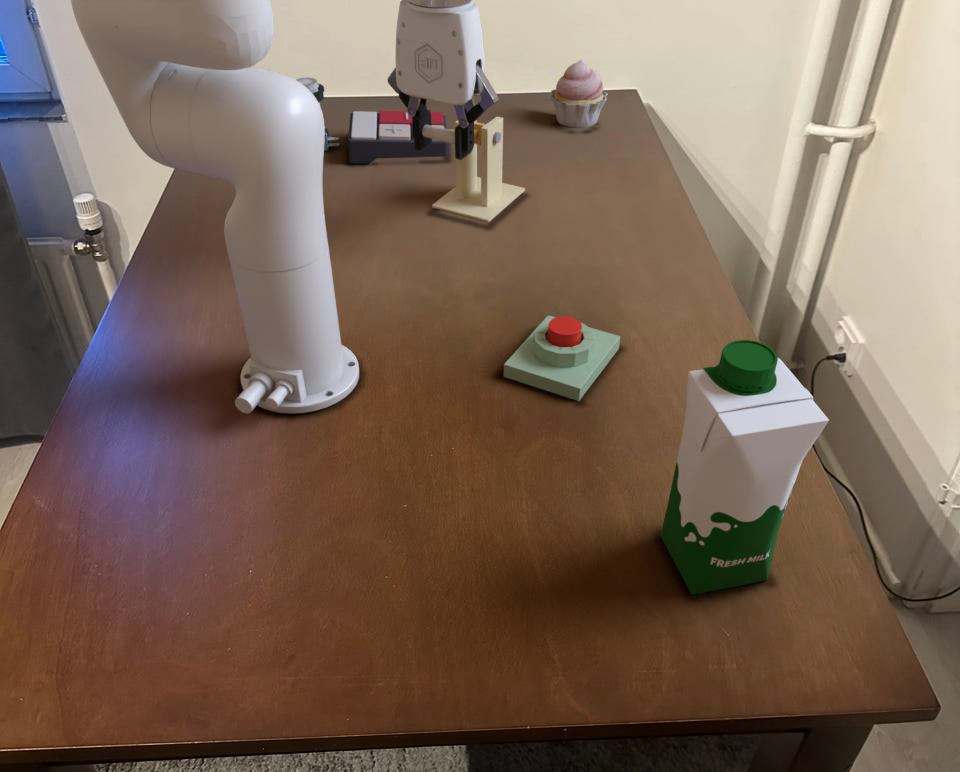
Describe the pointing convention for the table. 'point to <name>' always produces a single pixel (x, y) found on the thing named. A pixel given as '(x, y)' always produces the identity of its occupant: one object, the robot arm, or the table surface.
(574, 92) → the cupcake
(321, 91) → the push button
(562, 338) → the red button
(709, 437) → the milk carton
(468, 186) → the switch bracket
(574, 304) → the table surface
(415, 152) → the calculator
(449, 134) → the switch lever
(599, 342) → the switch box
